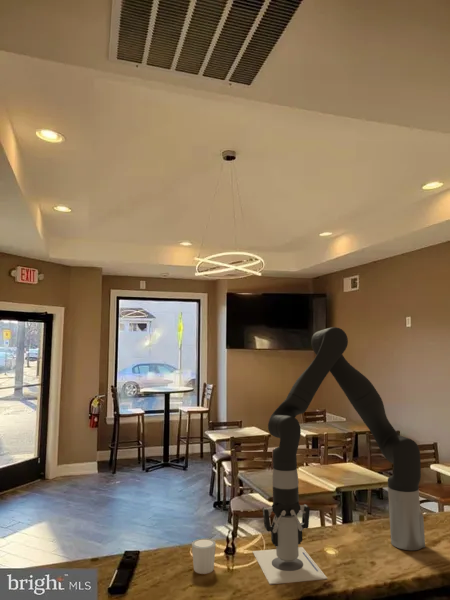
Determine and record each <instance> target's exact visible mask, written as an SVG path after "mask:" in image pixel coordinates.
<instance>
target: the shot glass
mask: <svg viewBox="0 0 450 600" xmlns="http://www.w3.org/2000/svg"><path fill="white" fill-rule="evenodd" d="M216 544H217V543H216V541H215V540H214V539H211V538H198V539H195V540H193V541H192V542H191V552H192V561H193V562H192V563H193V571H194V572H195V573H196V574H199V575H200V574H201V575H203V574H204V575H205V574H210V573H212V572H213V571H214V569H215V556H216V546H217V545H216Z"/></svg>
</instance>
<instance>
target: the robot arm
mask: <svg viewBox="0 0 450 600" xmlns="http://www.w3.org/2000/svg"><path fill="white" fill-rule="evenodd" d="M347 335H348V334H347V333H346V332H345V330H343V329H341V328H340V327H336V326H332V327H328V328H325V329H321V330H318V331H316V332H314V333H313V335H312V336H311V341H310V344H311V348H312V350H313V352H314V354H315V357H314V359H313V360H312V361H311V363H310V364H309V366H307V368H306V369H305V370H304V371H303V372H302V373H301V374H300V375H299V376H298V378H297V379H296V381H295V382H294V383H293V385H292V387H291V388H290V391H289V393H288V394H287V396H286V398H285V399H284V400H283V401H282V402H281V403H280V404H279V405H278V407H277V408H276V409H275V410H274V411H273V413H272V414H271V416H270V417H269V420H268V424H267V430H268V432H269V434H270V435H271V436H273V437H275V438H277V439H278V438H279V445H278V446H277V447H275V448H274V449H273V451H272V466H273V467H272V477H271V479H272V504H271V506H269V507H266V506H263V507H262V516H263V518H262V519H263V523H264V524H263V525H264V528H265V530H266V531H267V532H270V533H271V535H270V537H271V538H270V539H271V540H270V541H271V543H272V545H274V547H276V546H278V533H277V530H278V526H279V521H280V520H281V517H284V516H288V515H289V516H296V517H295V518H296V519H297V524H298V545H301V543H302V542H303V531H304V530H305V529H308V528H309V525H310V524H309V523H310V509H311V508H310V506H308V504H305V503H304V504H300V500H299V499H300V498H299V497H300V495H299V474H298V464H297V463H298V460H297V458H298V457H297V454H298V449H299V444H300V439H301V433H302V432H301V430H302V429H301V426H300V423H299V421H298V419H297V418H296V417H297V416H298V415H302V414H303V415H304V413H305V412H306V411H307V410H308V408H309V407H310V404H311V403H312V401H313V399H314V397H315V395H316V393H317V391H318V390H319V388H320V386H321V385H322V383H323V381H324V380H325V378H326V377H327V375H328V374H329V373H330V374H331V375H332V377H333V378H334V379H335V381H336V382H337V384H338V386H339V387H340V389H341V390H342V392H343V393H344V395H345V396H346V398H347V400H348V401H349V402H350V404H351V406H352V407H353V409H354V410H355V411H356V413H357V415H359V417H360V419H361V420H362V421H363V423H364V424H365V426H366V427H367V428H368V430H369V431H370V433H371V435H372V436H373V439H374V440H375V442H376V444H377V445H378V448H379V450H380V451H381V453H382V455H383V457H384V458H385V459H386V460H387V461H388V462H389V463H391V464H393V474H392V475H390V476H388V478H387V497H388V511H389V513H388V514H389V530H390V531H389V532H390V536H389V537H390V544H391V545H392V546H393V547H395V548H398V549H400V550H405V551H419V550H421V549H422V548H426V539H425V537H426V536H425V523H424V522H425V521H424V515H423V514H422V513H421V505H420V504H421V503H420V489H419V488H420V487H419V485H420V482H421V477H422V476H421V475H422V473H421V471H422V470H421V469H422V468H421V464H422V463H421V462H422V461H421V460H422V459H421V451H420V448H419V445H418V444H417V442H415V440H413V439H411V438H408V437H405V436H402V435H401V434H399V433H398V432H397V431H396V429H395V428H394V427H393V425H392V424H391V423H390V420H389V419H388V417H387V414H386V410H385V405H384V402H383V399H382V397H381V395H380V394H379V392H378V391H377V389H376V387H375V386H374V385H373V383H372V382H371V380H369V378H367V376H366V375H364V374H363V373H362V372H360V371H359V370H358V369H357V368H355V367H354V366H352V365H351V364H350V363H349V361H347V358H345V356H344V355H343V354H344V352H346V350H347V348H348V343H349V340H348V339H349V338H348V336H347ZM272 512H273V513H274V517H273V519H272V523H271V520H270V516H271V515H272ZM299 512H301V513H302V516H301V518H302V519H301V522H300V520H299V518H298V514H299ZM276 517H277V518H278V519H277V521H276Z"/></svg>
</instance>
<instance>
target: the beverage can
mask: <svg viewBox="0 0 450 600" xmlns="http://www.w3.org/2000/svg"><path fill="white" fill-rule="evenodd" d="M295 517H296V516H289V515H288V516H284V517H281V520H280V521H279V526H278V530H277V533H278V546H275V547H276V548H275V549H276V555H277V557H278V558H280V559H281V560H282V561H287V562H290V561H294V560H295V559H296V558H298V556H299V551H298V547H299V544H298V524H297V519H296V518H295ZM277 519H278V518H277V517H276V521H277Z"/></svg>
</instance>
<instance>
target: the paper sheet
mask: <svg viewBox="0 0 450 600" xmlns="http://www.w3.org/2000/svg"><path fill="white" fill-rule="evenodd" d="M298 551H299V556H298V558H296V559H295V560H294V561H290V562H287V561H282V560H281V559H280V558H278V557H277V555H276V548H274V549H273V548H272V549H264V550H261V549H260V550H252V554H253V556H254V558H255V559H256V561H257V563H258V566H259V567H260V569H261V571H262V572H263V575H264V577H265V578H266V581H267V583H268V584H269V585H277V584H288V583H289V584H290V583H298V582H299V583H301V582H310V581H311V582H312V581H319V580H320V581H321V580H328V576H327V575H325V573H324V572H323V571H322V569H321V568H320V567H319V565H318V564H317V563H316V562H315V561H314V559H312V557H311V556H310V554H309V553H308V552H307V551H306V549H305V548H304V547H303V546H298Z"/></svg>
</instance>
